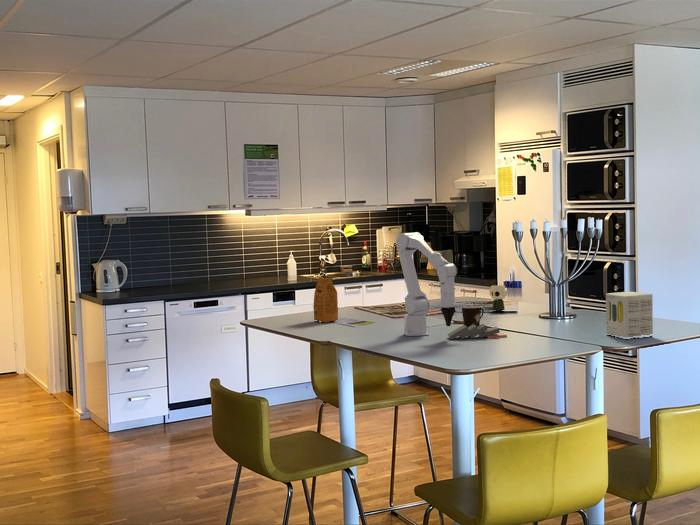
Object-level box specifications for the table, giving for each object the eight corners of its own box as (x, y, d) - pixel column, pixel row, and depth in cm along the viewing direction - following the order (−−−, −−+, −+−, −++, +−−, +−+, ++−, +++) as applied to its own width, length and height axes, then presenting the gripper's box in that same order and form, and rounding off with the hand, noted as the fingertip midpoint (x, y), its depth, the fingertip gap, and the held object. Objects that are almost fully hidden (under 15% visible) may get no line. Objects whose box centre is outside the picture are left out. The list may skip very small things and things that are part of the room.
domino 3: (480, 333, 346) (498, 328, 346) (477, 331, 351) (495, 326, 351) (481, 337, 346) (499, 332, 347) (478, 335, 351) (496, 330, 352)
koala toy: (485, 311, 430) (485, 286, 429) (494, 309, 434) (493, 284, 433) (502, 312, 421) (502, 287, 421) (511, 311, 426) (511, 285, 425)
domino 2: (469, 335, 345) (485, 325, 346) (466, 333, 350) (482, 323, 351) (471, 338, 345) (487, 329, 346) (468, 337, 350) (484, 327, 351)
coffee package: (328, 319, 418) (327, 275, 416) (340, 322, 407) (339, 276, 406) (310, 321, 413) (309, 276, 412) (322, 324, 402) (321, 278, 401)
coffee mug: (466, 331, 366) (466, 308, 365) (459, 328, 374) (458, 306, 374) (491, 329, 369) (490, 306, 368) (483, 326, 377) (482, 304, 377)
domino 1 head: (449, 336, 345) (466, 326, 345) (447, 334, 350) (463, 324, 350) (451, 339, 345) (468, 330, 345) (449, 337, 350) (465, 328, 350)
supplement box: (605, 335, 343) (604, 293, 342) (631, 333, 348) (631, 291, 347) (626, 340, 331) (626, 296, 330) (653, 337, 335) (653, 293, 334)
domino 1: (459, 335, 345) (476, 325, 345) (456, 333, 350) (473, 324, 350) (461, 339, 345) (478, 329, 346) (459, 337, 350) (475, 327, 351)
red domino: (488, 335, 346) (506, 335, 347) (484, 334, 351) (503, 333, 352) (488, 340, 346) (507, 339, 347) (484, 338, 351) (503, 337, 352)
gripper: (432, 294, 341) (433, 328, 342) (467, 293, 343) (467, 326, 344) (428, 293, 348) (429, 325, 349) (463, 291, 350) (463, 324, 351)
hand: (448, 325), depth 347 cm, fingers closed
